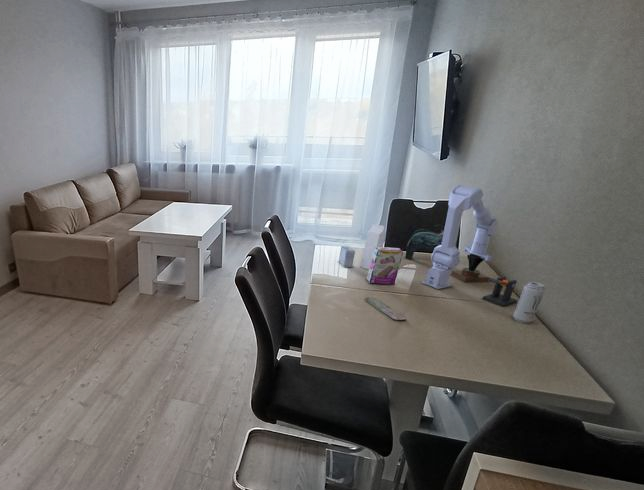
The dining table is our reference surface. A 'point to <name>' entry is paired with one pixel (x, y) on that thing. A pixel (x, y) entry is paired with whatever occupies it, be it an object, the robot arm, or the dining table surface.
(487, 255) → the robot arm
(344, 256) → the medicine box
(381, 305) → the thin flat strip
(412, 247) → the dark green curved piece
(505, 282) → the kettle switch
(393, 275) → the candy bar box
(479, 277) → the socket block
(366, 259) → the milk
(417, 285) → the dining table surface
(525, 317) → the energy drink can
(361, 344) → the dining table surface
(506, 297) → the dark grey stand
